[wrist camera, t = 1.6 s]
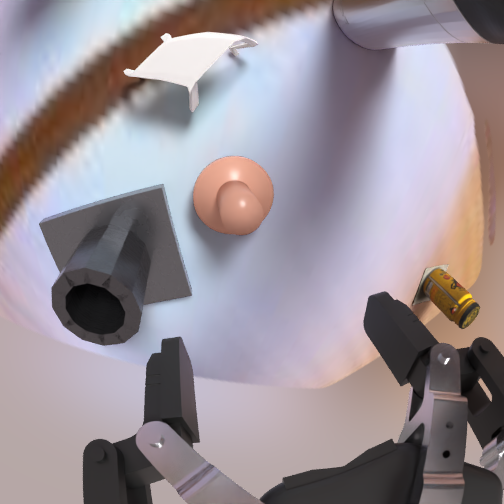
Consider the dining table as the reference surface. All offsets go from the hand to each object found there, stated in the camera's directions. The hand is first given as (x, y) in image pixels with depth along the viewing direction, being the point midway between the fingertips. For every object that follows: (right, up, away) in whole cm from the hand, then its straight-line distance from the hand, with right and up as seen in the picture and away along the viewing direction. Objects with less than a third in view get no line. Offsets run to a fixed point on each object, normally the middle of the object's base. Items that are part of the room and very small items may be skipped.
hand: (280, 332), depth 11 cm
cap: (-4, +10, +19) cm, 22 cm away
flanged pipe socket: (-18, +3, +20) cm, 27 cm away
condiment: (+33, -3, +36) cm, 49 cm away
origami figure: (-7, +22, +12) cm, 26 cm away
